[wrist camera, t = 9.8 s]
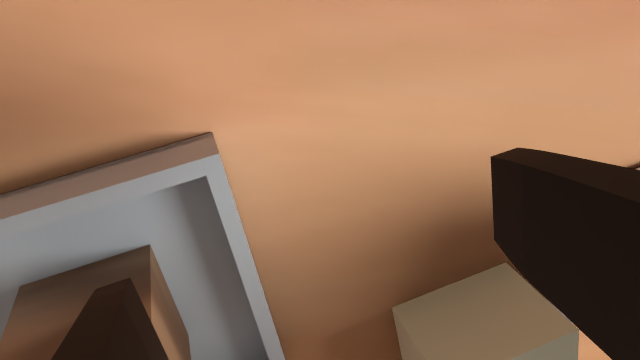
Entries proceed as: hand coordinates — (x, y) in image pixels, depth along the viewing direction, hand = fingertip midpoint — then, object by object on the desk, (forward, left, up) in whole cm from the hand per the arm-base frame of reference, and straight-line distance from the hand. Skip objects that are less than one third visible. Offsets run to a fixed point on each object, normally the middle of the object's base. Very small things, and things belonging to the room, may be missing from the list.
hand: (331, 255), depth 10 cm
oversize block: (-7, +14, -10) cm, 18 cm away
